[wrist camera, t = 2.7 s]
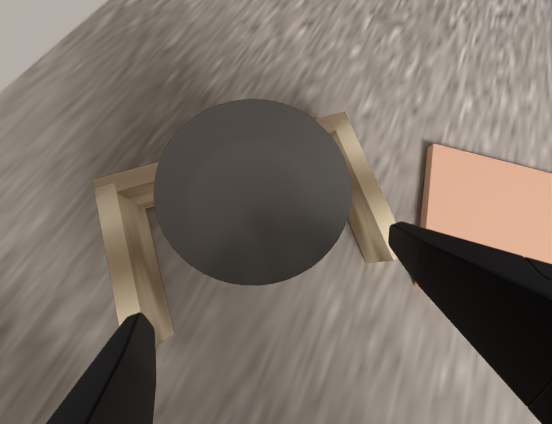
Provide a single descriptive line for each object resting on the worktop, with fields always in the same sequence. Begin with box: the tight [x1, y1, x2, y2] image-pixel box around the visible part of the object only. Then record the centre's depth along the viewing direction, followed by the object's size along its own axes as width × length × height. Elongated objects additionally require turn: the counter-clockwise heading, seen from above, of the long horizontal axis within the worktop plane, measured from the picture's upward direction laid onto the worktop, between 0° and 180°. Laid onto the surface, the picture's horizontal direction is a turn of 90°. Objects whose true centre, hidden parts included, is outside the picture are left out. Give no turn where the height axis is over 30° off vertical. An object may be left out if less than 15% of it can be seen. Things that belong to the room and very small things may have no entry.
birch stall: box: [93, 112, 398, 347], centre depth 17 cm, size 11×17×4 cm, turn 109°
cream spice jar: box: [154, 99, 351, 285], centre depth 13 cm, size 5×5×13 cm
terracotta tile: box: [414, 144, 552, 286], centre depth 20 cm, size 12×12×1 cm
